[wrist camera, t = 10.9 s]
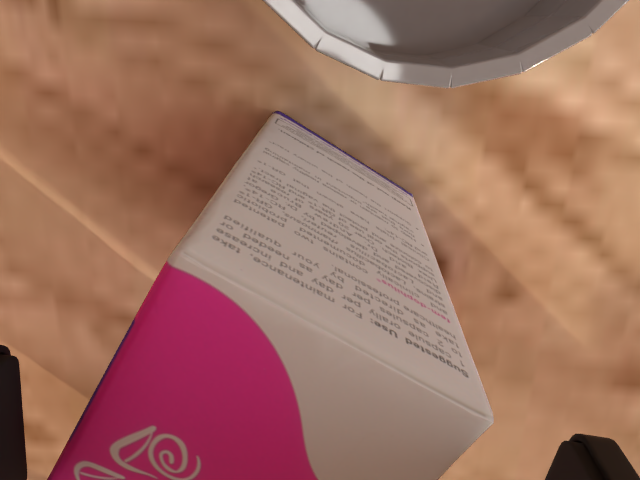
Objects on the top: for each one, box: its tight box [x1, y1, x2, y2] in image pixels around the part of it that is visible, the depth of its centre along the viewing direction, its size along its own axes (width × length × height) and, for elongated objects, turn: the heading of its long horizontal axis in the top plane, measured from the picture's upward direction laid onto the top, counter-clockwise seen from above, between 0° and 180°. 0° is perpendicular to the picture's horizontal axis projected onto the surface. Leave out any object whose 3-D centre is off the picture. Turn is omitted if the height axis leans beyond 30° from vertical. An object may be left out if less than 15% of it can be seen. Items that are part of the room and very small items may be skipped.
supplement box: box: [47, 111, 494, 480], centre depth 14 cm, size 6×6×12 cm
